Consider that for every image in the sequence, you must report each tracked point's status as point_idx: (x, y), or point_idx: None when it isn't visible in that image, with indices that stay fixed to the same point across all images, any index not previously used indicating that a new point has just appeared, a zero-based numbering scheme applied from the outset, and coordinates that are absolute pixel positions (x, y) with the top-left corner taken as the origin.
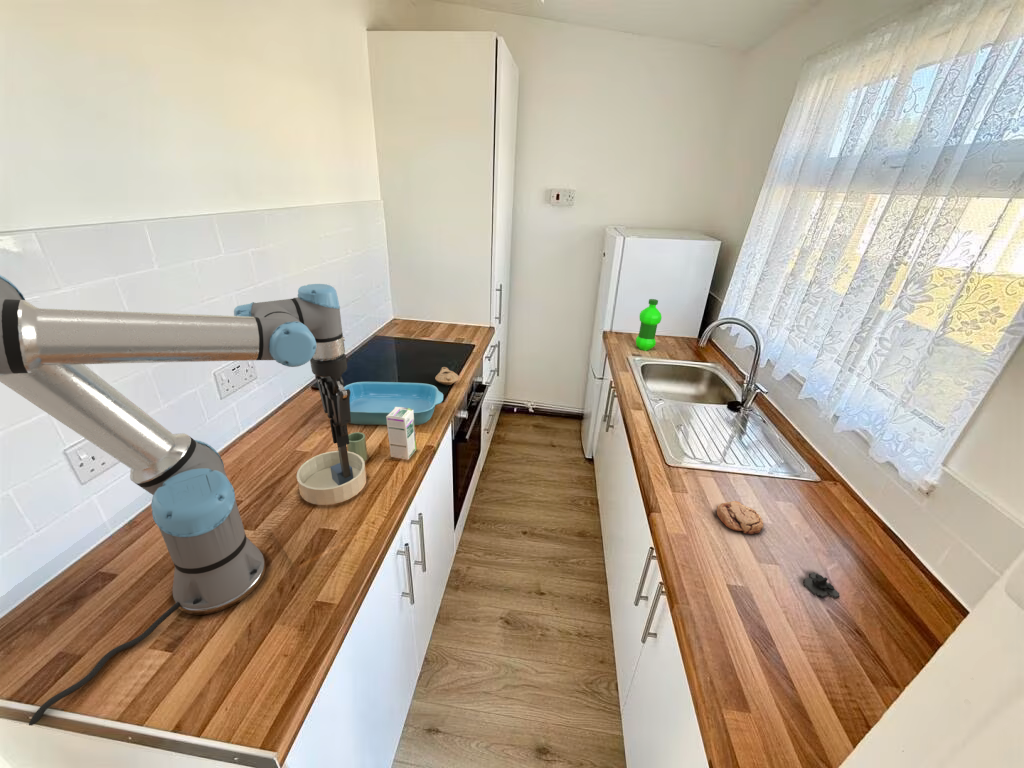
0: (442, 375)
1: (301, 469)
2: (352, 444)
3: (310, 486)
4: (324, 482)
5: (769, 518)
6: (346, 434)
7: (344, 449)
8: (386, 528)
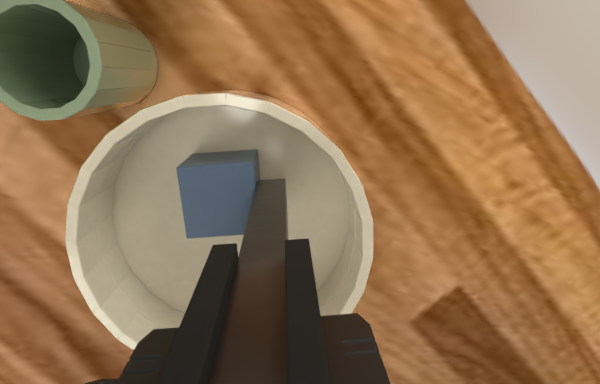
0: None
1: None
2: (97, 101)
3: None
4: (205, 245)
5: None
6: (361, 322)
7: None
8: (570, 162)
